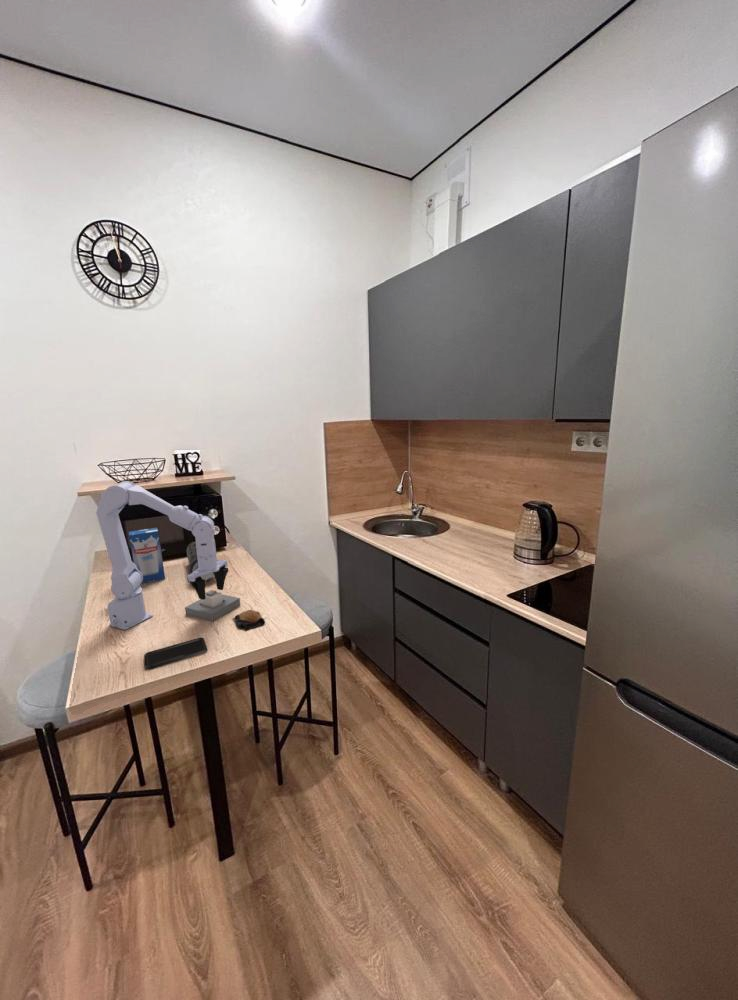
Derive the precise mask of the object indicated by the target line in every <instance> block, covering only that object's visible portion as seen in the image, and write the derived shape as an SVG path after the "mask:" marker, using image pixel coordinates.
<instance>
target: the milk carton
mask: <svg viewBox="0 0 738 1000" xmlns="http://www.w3.org/2000/svg"><path fill="white" fill-rule="evenodd" d="M128 538H129V543H130V548H131V553H132V562H133V563H135V564H136V566H137V569H138V570H139V571H140V572H141V573H142V575H143V581H142V583H141V584H140V585H143V584H148V583H151V582H157V581H162V580H165V579H166V574H165V569H164V561H163V556H162V549H161V543H160V540H161V539H160V535H159V530H158V527H152V528H144V529H139V530H132V531H128Z"/></svg>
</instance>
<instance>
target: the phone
mask: <svg viewBox="0 0 738 1000" xmlns="http://www.w3.org/2000/svg"><path fill="white" fill-rule="evenodd" d="M207 652H208V646H207V644H206V641H205V638H204V637H198V638H195V639H193V638H192V639H191V640H186V641H183V642H180V643H176V644H172V645H169V646H166V647H162V648H158V649H154V650H152V651H151V650H150V651H148V652H146V653H145V654H143V656H144V657H143V658H144V659H143V660H144V661H143V663H144V668H145V669H144V670H147V671H149V670H152V669H153V670H154V669H156V668H160V667H163V666H166V665H170V664H172V663H177V662H179V661H183V660H186V659H190V658H193V657H197V656H199V655H203V654H206V653H207Z"/></svg>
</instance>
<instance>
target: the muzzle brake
mask: <svg viewBox="0 0 738 1000" xmlns="http://www.w3.org/2000/svg"><path fill="white" fill-rule="evenodd" d="M185 552H186V557H187V560H188V561H187V562H188V566H189V567H188V569H189V573H190V574H191V573H193V572H194V571H195V570H197V569H198V568H199V566H198V559H197V550H196V540H195V541H191V542H190V543H189V544H188V546H187V547H186V551H185ZM213 576H214V573H213V572H211V573H209V574H207V575H205V576H202V577H201V578H202V579H203V580H206V581H208V580H210V579H211V578H212V577H213Z"/></svg>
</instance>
